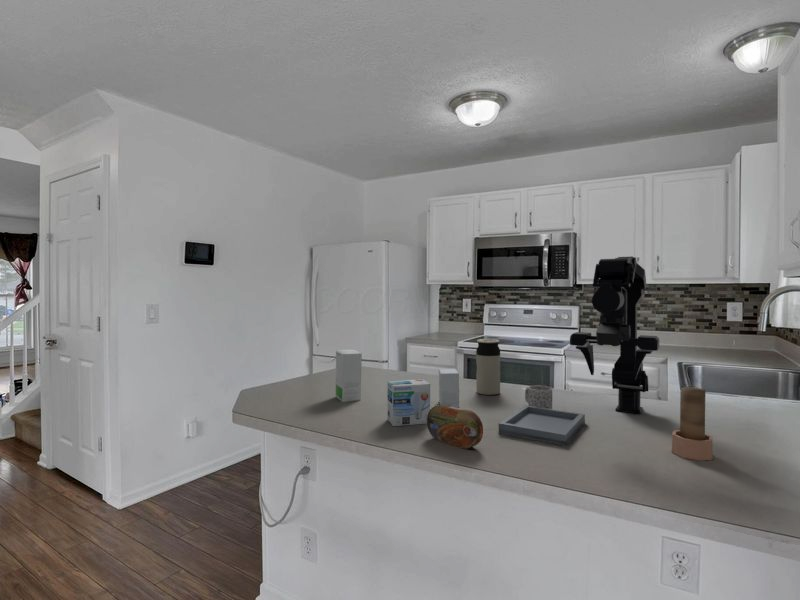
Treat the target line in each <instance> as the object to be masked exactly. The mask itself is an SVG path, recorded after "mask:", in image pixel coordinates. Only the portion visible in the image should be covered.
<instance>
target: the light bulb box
mask: <svg viewBox="0 0 800 600" xmlns="http://www.w3.org/2000/svg"><path fill="white" fill-rule="evenodd" d="M430 409H431V383H429V382H428V381H426V380H425V379H423V378H419V379H404V380H402V379H401V380H388V381H387V421H388V422H389V423H390V424H391V426H392V427H401V426H414V425H427V416H428V413H429V411H430Z"/></svg>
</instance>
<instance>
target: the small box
mask: <svg viewBox="0 0 800 600" xmlns="http://www.w3.org/2000/svg"><path fill="white" fill-rule="evenodd" d="M438 403H439V406H440V405H447V406H451V407H456V408H460V373H459V371H458V370H457V368H439V369H438Z"/></svg>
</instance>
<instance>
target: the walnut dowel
mask: <svg viewBox="0 0 800 600" xmlns="http://www.w3.org/2000/svg"><path fill="white" fill-rule="evenodd" d="M679 395H680V399H679V400H680V403H679V404H680V405H679V408H680V409H679V414H680V415H679V430H680V437H683V438H686V439H692V440H699V441H700V440H705V434H706V390H705V389H702V388H699V387H692V386H691V387H689V386H686V387H684V386H683V387H680V393H679Z"/></svg>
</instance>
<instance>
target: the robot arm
mask: <svg viewBox="0 0 800 600" xmlns="http://www.w3.org/2000/svg"><path fill="white" fill-rule="evenodd" d="M646 277H647V276H646V270H645V269H644V267H642V266H641V265H640V264H638V263H637V257H636V256H635V257H634V256H618V257H615V258H600V259H599V260H598V263H596V265H595V269H594V275H593V281H592V288H599V289H597V290H596V291H595V292H594V293H593V295H592V298H591V304H592V307H593V308H594V309H595V311H597V312H599V313H600V315H599V317H600V318H599V324H598V326H597V328H596V331H595V335H592V333H591V332H584V331H581V332H580V331H576V332H573V333H571V335H570V336H569V345H570V346H575V349H576V350H579V351H580V352H581V353H582V355H583V358H585V361H586V364H587V368H588V370H589V373H590V375H591V376H594V372H595V363H594V362H595V359H594V346H593V344H596V345H597V346H612V347H619V346H620V348H619V349H620V351H619V352H620V353H619V354H620V355H619V356H618V358H617V360H616V361H615V362H614V366H613V368H612V370H611V385H612V389H613V390H618V403H617V406H616V407H615V411H616V412H622V413H623V412H624V413H629V414H630V413H631V414H638V415H640V414H642V412H643V410H644V407H642V406H641V392H642V393H646V392H649V375H648V374H647V373H646V370H644V363H643V362H644V359H645V357H646V356H647V355H651V354H652V353H653V352H654V351H656V352H657V351H658V350H659V349H660V337H658V336H657V335H645V334H644V335H638V303H639V302H640V300H641V299H642V298H643V296H644V291H645V290H646V289H647V278H646Z"/></svg>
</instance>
